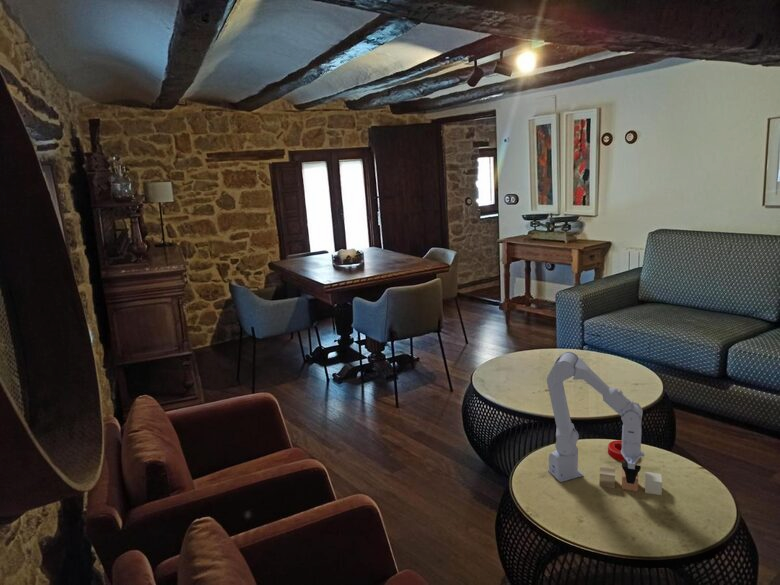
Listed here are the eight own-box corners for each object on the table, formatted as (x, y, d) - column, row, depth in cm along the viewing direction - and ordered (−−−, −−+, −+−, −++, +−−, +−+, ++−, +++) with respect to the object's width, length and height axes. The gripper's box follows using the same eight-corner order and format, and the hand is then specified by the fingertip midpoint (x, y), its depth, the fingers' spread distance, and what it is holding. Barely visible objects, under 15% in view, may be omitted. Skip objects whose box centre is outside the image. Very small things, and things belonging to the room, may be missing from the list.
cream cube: (661, 495, 175) (662, 482, 174) (645, 492, 177) (645, 480, 176) (660, 486, 179) (661, 474, 178) (644, 484, 181) (645, 471, 180)
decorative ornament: (608, 460, 197) (608, 452, 196) (607, 446, 205) (607, 438, 204) (637, 463, 193) (637, 455, 192) (634, 448, 202) (635, 441, 201)
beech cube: (614, 488, 180) (615, 475, 179) (599, 485, 182) (599, 473, 181) (614, 480, 185) (615, 467, 183) (599, 477, 186) (600, 465, 185)
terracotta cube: (637, 491, 178) (638, 478, 176) (621, 489, 179) (622, 476, 178) (637, 483, 182) (637, 470, 181) (621, 481, 184) (622, 468, 182)
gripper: (645, 453, 168) (644, 491, 172) (644, 430, 181) (642, 466, 184) (621, 450, 171) (620, 487, 174) (621, 427, 184) (620, 463, 187)
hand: (630, 476), depth 180 cm, fingers open, 7 cm apart
